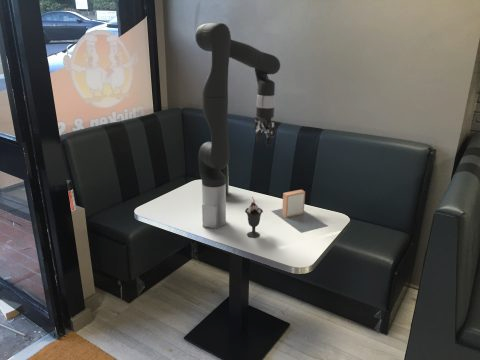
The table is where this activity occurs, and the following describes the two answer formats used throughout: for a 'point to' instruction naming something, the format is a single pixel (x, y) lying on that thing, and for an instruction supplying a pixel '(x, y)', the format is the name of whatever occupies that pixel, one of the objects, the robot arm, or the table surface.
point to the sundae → (253, 218)
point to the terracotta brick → (293, 203)
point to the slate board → (301, 221)
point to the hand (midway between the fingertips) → (263, 143)
